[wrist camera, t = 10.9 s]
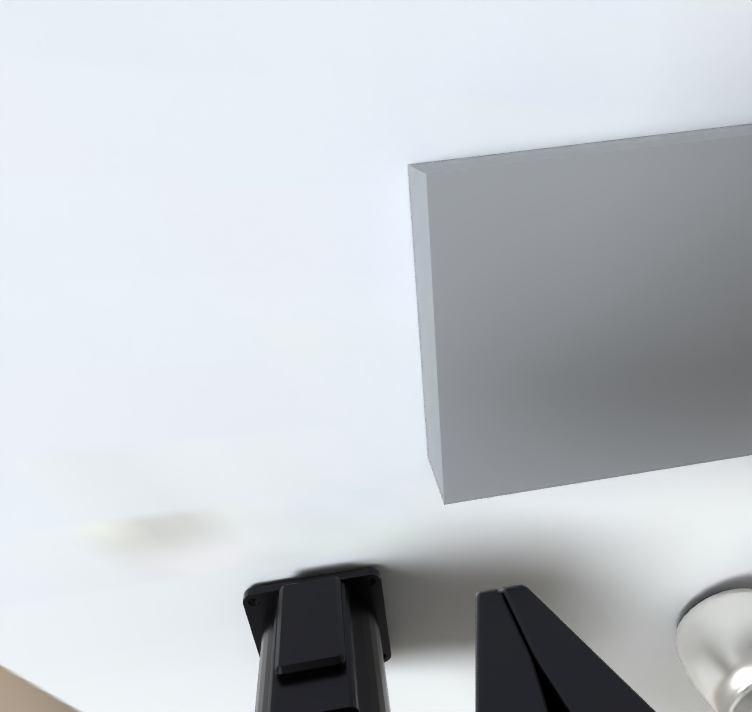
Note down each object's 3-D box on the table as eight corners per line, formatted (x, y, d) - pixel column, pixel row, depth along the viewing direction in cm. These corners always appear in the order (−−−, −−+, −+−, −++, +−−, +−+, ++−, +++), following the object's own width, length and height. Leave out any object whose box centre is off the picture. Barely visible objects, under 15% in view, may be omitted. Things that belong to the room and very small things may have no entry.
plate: (732, 409, 23) (788, 448, 20) (428, 457, 22) (444, 504, 19) (803, 117, 18) (890, 118, 15) (407, 164, 17) (426, 173, 14)
